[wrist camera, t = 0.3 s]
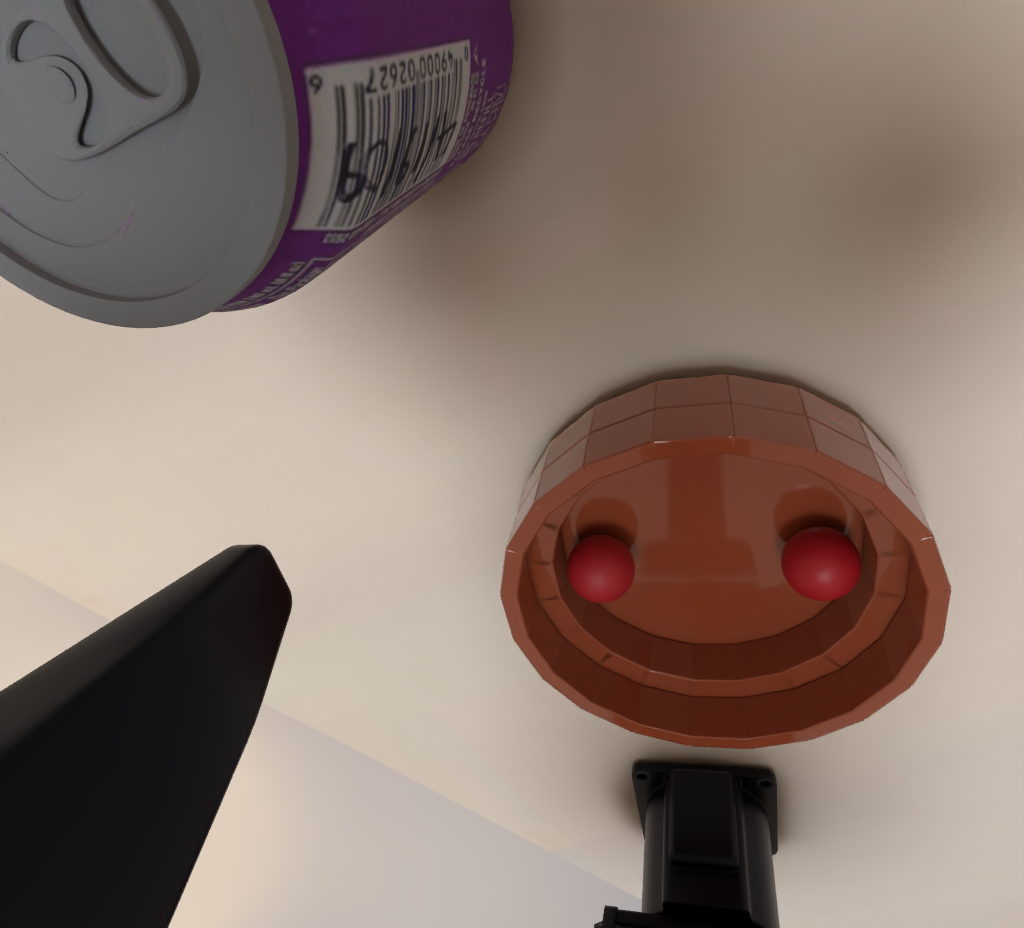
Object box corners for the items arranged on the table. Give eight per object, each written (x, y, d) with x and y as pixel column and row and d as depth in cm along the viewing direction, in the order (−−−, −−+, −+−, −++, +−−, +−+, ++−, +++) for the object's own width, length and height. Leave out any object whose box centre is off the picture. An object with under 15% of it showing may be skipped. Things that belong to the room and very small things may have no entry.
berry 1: (640, 570, 26) (636, 617, 24) (577, 571, 26) (568, 617, 24) (632, 519, 25) (628, 564, 23) (566, 522, 25) (557, 566, 23)
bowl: (893, 660, 27) (924, 758, 23) (557, 655, 30) (542, 739, 27) (929, 343, 20) (981, 416, 16) (490, 388, 23) (457, 455, 20)
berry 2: (851, 565, 24) (866, 616, 22) (777, 567, 24) (785, 616, 22) (855, 510, 23) (871, 559, 21) (776, 513, 23) (785, 561, 21)
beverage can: (417, -221, 15) (-49, -598, 5) (569, 95, 18) (438, 217, 8) (207, -18, 18) (-334, -30, 9) (364, 225, 21) (95, 424, 11)
